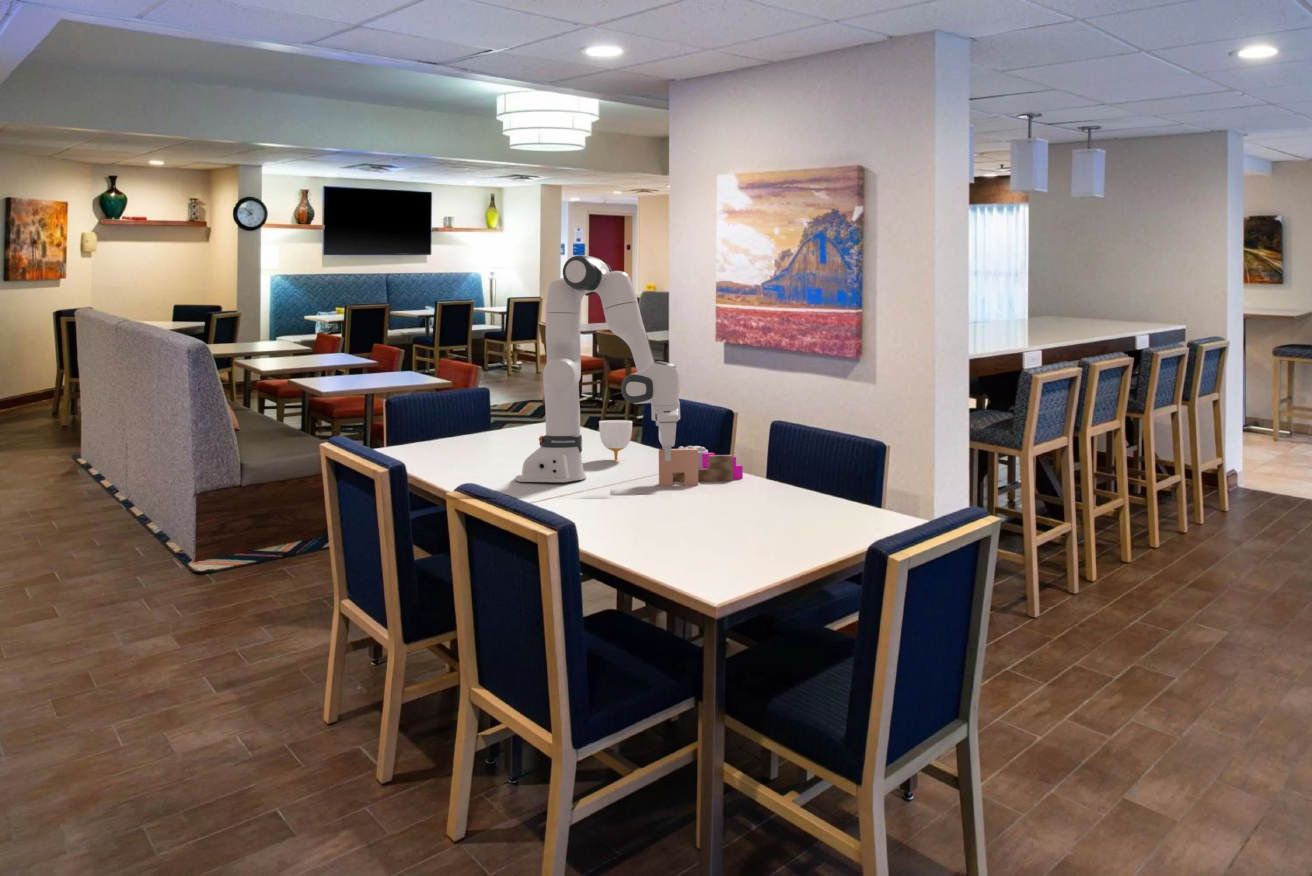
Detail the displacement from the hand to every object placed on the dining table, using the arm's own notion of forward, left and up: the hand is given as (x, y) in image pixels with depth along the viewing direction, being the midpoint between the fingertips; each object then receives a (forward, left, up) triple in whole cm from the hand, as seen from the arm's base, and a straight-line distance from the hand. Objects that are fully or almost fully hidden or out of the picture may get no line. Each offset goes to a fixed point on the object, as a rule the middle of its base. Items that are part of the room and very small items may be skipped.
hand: (666, 459), depth 300 cm
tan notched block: (+4, 0, -8) cm, 9 cm away
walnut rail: (+12, +9, -8) cm, 17 cm away
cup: (-15, +42, -8) cm, 46 cm away
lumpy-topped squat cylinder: (+11, +34, -8) cm, 37 cm away
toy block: (+19, +19, -9) cm, 28 cm away
